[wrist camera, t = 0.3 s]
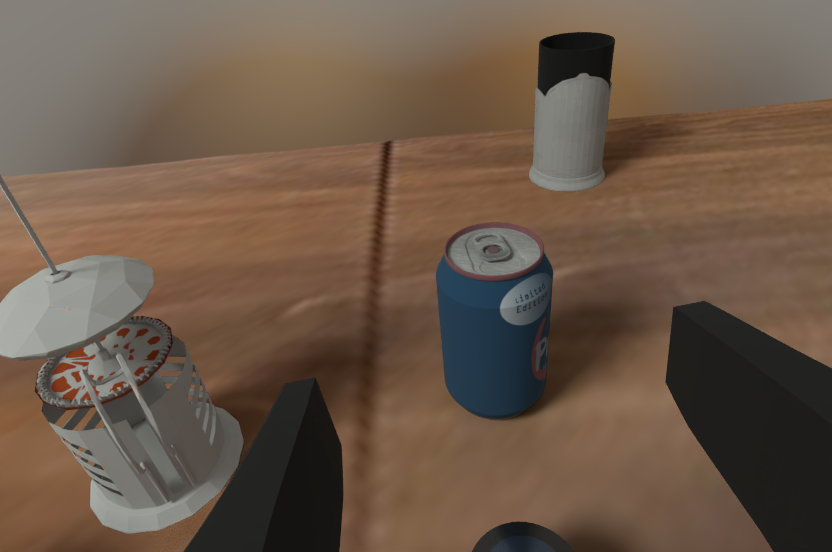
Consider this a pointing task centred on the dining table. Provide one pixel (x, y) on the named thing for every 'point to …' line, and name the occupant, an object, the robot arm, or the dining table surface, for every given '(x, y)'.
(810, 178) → the dining table surface
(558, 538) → the lens
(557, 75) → the grey and black mug
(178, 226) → the dining table surface
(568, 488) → the dining table surface
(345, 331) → the dining table surface
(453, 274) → the soda can
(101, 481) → the french press
